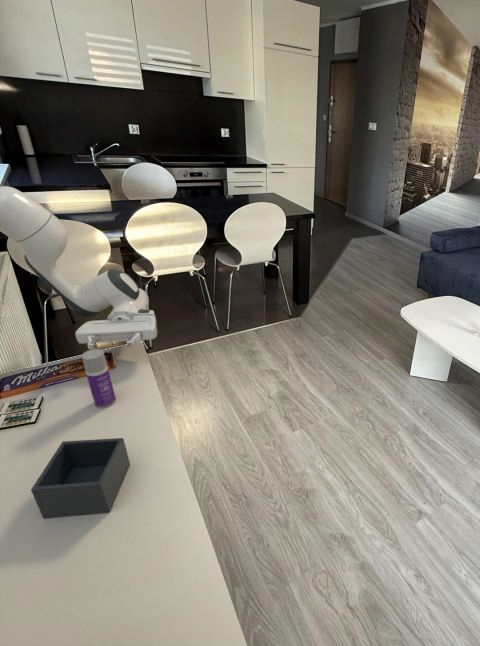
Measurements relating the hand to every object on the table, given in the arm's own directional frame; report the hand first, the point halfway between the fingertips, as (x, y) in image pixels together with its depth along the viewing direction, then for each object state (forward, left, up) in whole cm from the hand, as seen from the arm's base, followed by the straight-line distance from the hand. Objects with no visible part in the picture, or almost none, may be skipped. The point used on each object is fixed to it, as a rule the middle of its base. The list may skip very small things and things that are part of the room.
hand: (110, 345), depth 108 cm
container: (+1, -11, -10) cm, 15 cm away
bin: (+8, -38, -10) cm, 40 cm away
